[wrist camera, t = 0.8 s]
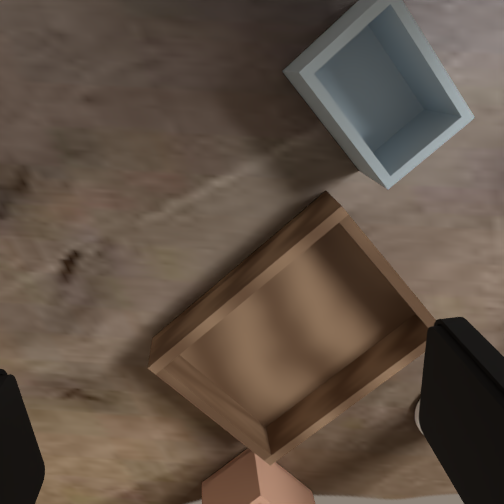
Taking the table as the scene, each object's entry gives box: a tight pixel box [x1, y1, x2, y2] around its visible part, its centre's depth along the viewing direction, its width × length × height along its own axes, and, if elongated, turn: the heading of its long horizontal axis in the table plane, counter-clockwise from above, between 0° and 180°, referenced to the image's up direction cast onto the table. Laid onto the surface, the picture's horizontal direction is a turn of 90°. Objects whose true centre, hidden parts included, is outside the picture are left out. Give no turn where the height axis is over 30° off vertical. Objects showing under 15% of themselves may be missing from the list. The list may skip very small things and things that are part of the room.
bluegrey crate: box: [282, 0, 475, 189], centre depth 29 cm, size 6×9×6 cm
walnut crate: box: [148, 191, 436, 466], centre depth 36 cm, size 18×14×4 cm
